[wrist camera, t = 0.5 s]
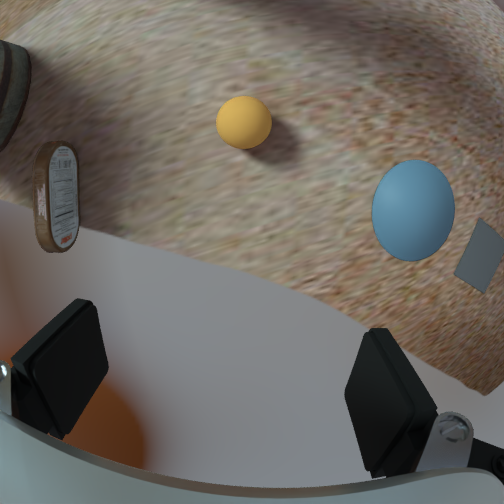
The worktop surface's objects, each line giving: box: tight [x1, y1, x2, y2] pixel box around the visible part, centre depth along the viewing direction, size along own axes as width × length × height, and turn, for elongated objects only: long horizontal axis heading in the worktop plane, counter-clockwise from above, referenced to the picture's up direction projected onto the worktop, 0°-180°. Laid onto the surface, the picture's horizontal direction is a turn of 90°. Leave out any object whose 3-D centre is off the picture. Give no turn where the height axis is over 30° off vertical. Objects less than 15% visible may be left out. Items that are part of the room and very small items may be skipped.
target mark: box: [372, 160, 455, 261], centre depth 34 cm, size 14×14×1 cm
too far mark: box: [454, 218, 504, 293], centre depth 35 cm, size 10×10×1 cm
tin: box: [32, 141, 80, 253], centre depth 31 cm, size 15×3×8 cm, turn 176°
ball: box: [216, 96, 272, 149], centre depth 29 cm, size 6×6×6 cm
